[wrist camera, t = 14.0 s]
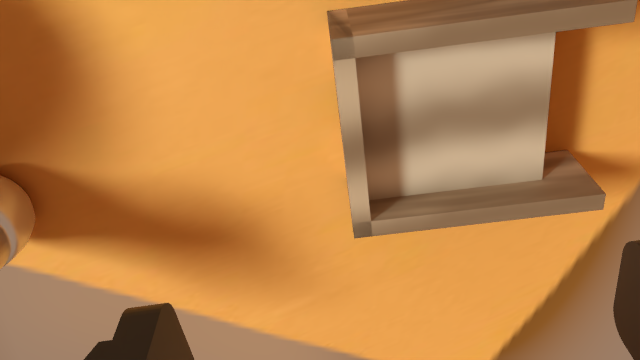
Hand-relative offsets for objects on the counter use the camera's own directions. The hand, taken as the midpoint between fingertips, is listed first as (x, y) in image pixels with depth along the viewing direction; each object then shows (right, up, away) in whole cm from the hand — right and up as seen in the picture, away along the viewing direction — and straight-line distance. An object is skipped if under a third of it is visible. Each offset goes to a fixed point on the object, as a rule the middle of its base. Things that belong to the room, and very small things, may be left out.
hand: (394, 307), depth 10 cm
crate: (+8, +8, +28) cm, 30 cm away
